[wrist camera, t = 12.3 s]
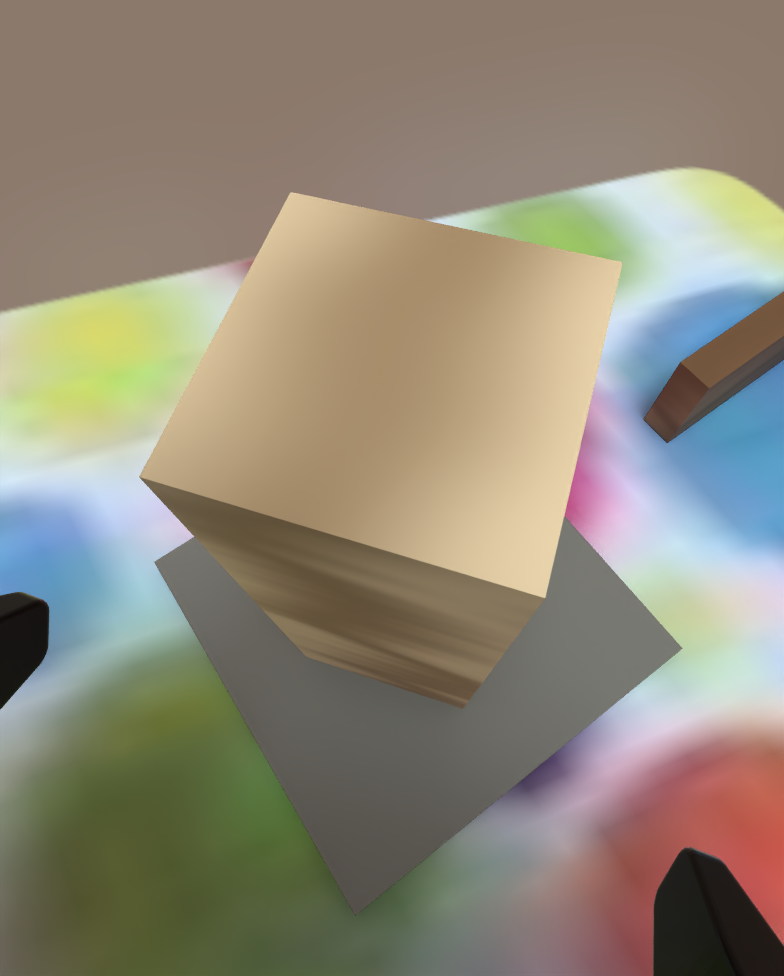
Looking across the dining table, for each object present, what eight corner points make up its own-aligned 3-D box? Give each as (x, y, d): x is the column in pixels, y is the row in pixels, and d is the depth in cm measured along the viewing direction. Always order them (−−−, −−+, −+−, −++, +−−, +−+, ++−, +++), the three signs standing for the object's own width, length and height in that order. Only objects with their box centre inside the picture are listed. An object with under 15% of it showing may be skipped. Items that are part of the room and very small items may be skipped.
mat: (677, 650, 20) (682, 648, 19) (356, 912, 17) (355, 915, 17) (443, 386, 24) (444, 381, 24) (158, 565, 21) (154, 561, 21)
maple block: (503, 555, 21) (621, 262, 9) (462, 709, 19) (544, 598, 7) (359, 513, 21) (291, 192, 10) (306, 656, 20) (139, 477, 8)
